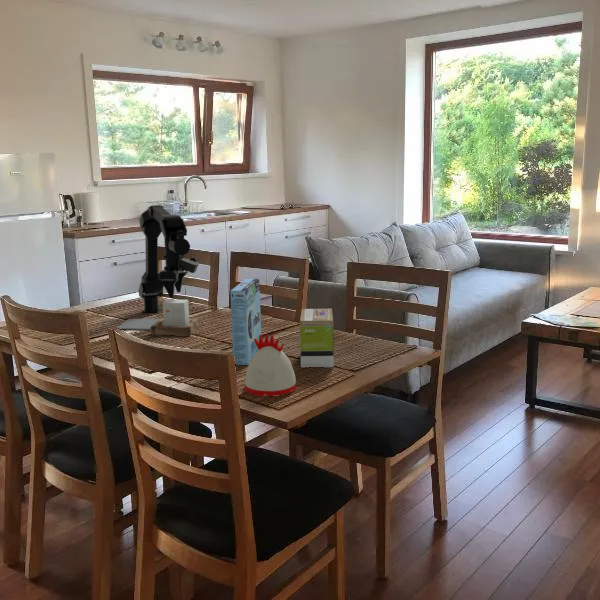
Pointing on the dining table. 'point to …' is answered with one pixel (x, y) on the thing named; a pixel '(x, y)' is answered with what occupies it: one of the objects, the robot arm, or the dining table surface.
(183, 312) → the small box
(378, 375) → the dining table surface
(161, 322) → the walnut bay
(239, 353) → the blue thin cardboard box
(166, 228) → the robot arm
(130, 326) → the slate mat
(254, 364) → the kitchen timer
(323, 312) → the tea box
